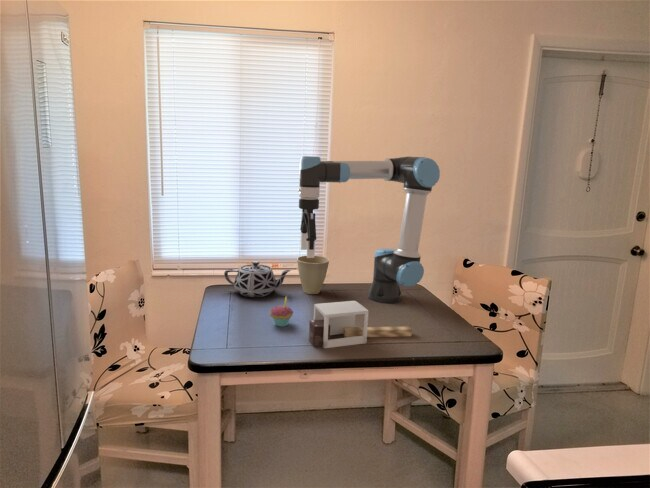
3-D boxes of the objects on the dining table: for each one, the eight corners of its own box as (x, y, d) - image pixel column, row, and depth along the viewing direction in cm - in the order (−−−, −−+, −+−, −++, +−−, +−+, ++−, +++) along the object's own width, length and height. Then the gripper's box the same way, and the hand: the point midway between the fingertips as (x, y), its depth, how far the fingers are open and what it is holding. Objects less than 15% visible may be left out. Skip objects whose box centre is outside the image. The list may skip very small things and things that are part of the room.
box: (329, 345, 156) (330, 325, 155) (312, 347, 155) (313, 326, 153) (324, 338, 162) (325, 319, 161) (308, 339, 160) (309, 320, 159)
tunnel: (353, 331, 170) (355, 300, 167) (366, 343, 160) (368, 310, 157) (312, 335, 164) (314, 304, 161) (323, 348, 154) (325, 314, 151)
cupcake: (295, 322, 176) (296, 292, 173) (286, 330, 168) (287, 299, 166) (275, 318, 179) (276, 289, 176) (265, 326, 171) (266, 295, 168)
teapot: (288, 301, 199) (289, 268, 196) (218, 298, 200) (218, 265, 197) (292, 289, 218) (293, 258, 215) (229, 285, 218) (229, 255, 215)
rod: (408, 333, 171) (409, 326, 170) (411, 337, 168) (411, 329, 167) (343, 335, 167) (343, 327, 166) (345, 338, 164) (345, 330, 163)
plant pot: (289, 292, 212) (290, 259, 209) (308, 285, 224) (309, 253, 221) (315, 299, 204) (316, 264, 201) (333, 291, 216) (335, 259, 213)
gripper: (294, 194, 181) (292, 246, 186) (304, 202, 157) (303, 261, 162) (312, 194, 183) (311, 246, 187) (326, 202, 159) (323, 261, 163)
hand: (307, 253), depth 175 cm, fingers open, 13 cm apart
